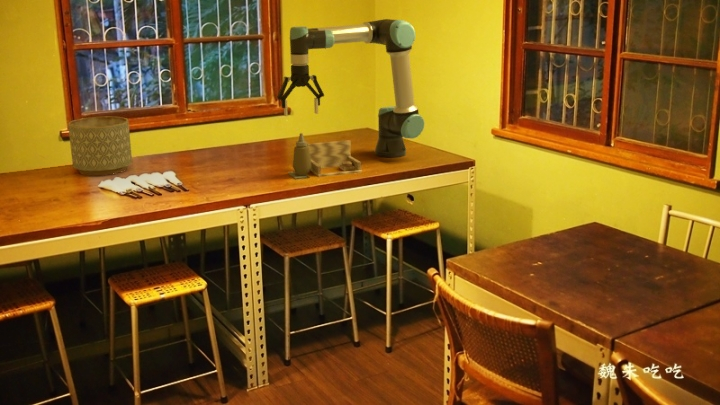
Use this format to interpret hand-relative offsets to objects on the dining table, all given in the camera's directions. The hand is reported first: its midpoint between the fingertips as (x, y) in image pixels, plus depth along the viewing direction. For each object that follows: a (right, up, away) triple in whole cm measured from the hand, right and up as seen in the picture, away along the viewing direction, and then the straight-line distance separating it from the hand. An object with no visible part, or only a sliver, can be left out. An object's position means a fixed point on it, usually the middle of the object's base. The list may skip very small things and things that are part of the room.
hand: (301, 114), depth 339 cm
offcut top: (+19, -21, +14) cm, 32 cm away
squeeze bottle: (0, -25, +7) cm, 26 cm away
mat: (0, -26, +7) cm, 27 cm away
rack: (+14, -24, +12) cm, 30 cm away
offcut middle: (+19, -23, +14) cm, 33 cm away
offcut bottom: (+19, -24, +15) cm, 34 cm away
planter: (-90, -23, +19) cm, 95 cm away
